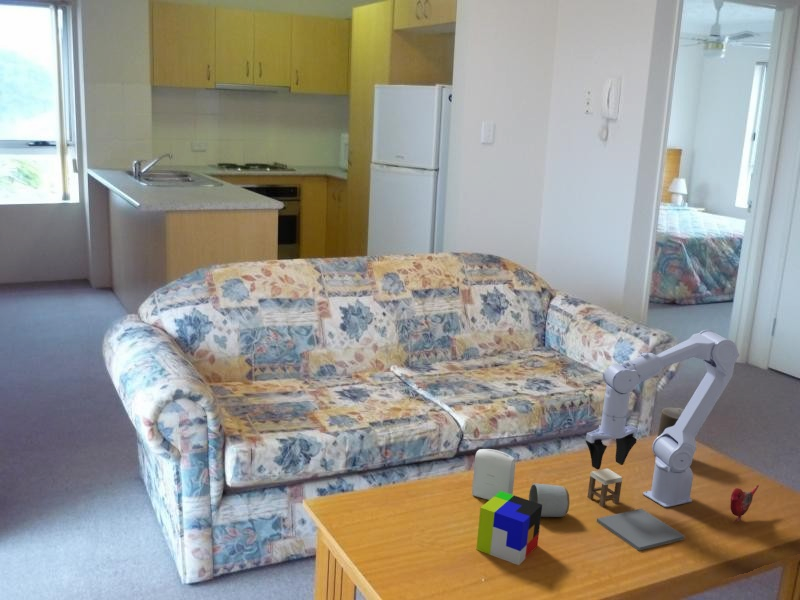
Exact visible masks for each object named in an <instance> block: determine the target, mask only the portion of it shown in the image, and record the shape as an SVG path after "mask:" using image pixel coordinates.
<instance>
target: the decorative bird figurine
mask: <svg viewBox="0 0 800 600" xmlns="http://www.w3.org/2000/svg"><path fill="white" fill-rule="evenodd" d="M758 488H759V484H757V485H756V486H755V487H754V488H753V489H752V490H751V491H750V492H749V491H743V490H742V489H741V488H738V487H736V488H734V489H733V490H732V493H731V496H730V511H731V513H732V515H734V516H736V517H737V518H736V519H735V520H734V522H733V524H736V522H737V523H739V521H741V518H742V517H743V515H745V514H746V513H747V512H748V510H749V508H750V506H751V504H752V502H753V497H754V495H755V493H756V492H757V490H758Z"/></svg>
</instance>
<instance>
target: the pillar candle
mask: <svg viewBox="0 0 800 600" xmlns="http://www.w3.org/2000/svg"><path fill="white" fill-rule="evenodd" d="M684 409H685V408H680V407H664V408H663V409H662V410H661V414H660V419H659V427H658V431H657V437H658V436H660V435H661V434H662V433H663V432H664V430H665V429H666V428H668V427H672V426H674V425H675V424H676V422H677V420H678V419H679V417H680V416H681V414H682V412H683V411H684ZM657 437H656V438H657ZM677 442H678V441H677ZM654 458H656V455H655V454H654Z"/></svg>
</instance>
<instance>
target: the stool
mask: <svg viewBox="0 0 800 600" xmlns="http://www.w3.org/2000/svg"><path fill="white" fill-rule="evenodd" d="M589 474H590V476H589V481H588V482H589V484H588V489H587V491H588V492H587V498H588V499H589V500H593V499H594V496H596V497H598V499H599V504H598V505H599V506H600V507H602V508H604V507H606V502H607V500H610V499H612V503H613V504H615V505H616V504H617V505H618V504H619V503H620V498H621V489H622V484H623V483H622V482H623V476H621V475H619V474H618V473H616V472H614V471H612V470H611V469H610V468H603V469H601V468H600V469H598V470H597V469H596V470H592V471H590V473H589ZM596 481H598V482H599V483H600V484H601V486H599V487H595V486H596ZM613 484H615V485H614V490H613V489H611V488H609V485H613ZM599 492H600V493H599ZM608 493H609V494H610V495H608Z"/></svg>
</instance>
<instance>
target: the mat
mask: <svg viewBox="0 0 800 600" xmlns="http://www.w3.org/2000/svg"><path fill="white" fill-rule="evenodd" d="M596 523H598V524H599V525H601V526H602V527H603V528H605V529H607V530H608V531H610V532H611V533H612V534H614V535H615V536H616V537H619V539H621V540H623V541H624V542H626V543H627V544H628V545H630V546H631V547H632V548H634V549H636V550H637V551H638V552H640V551H643V550H648V549H651V548H655V547H659V546H663V545H667V544H671V543H675V542H679V541H683V540H685V538H686V535H684V534H683V533H681V532H679V531H678V530H676V529H675V528H673V527H671V526H670V525H668V524H667V523H665V522H664V521H663V520H661V519H659V518H657V517H655V516H654V515H652V514H651V513H649V512H648V511H646V510H644V509H643V508H637V509H634V510H628V511H625V512H620V513H616V514H611V515H607V516H606V515H605V516H603V517H597V518H596Z"/></svg>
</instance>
